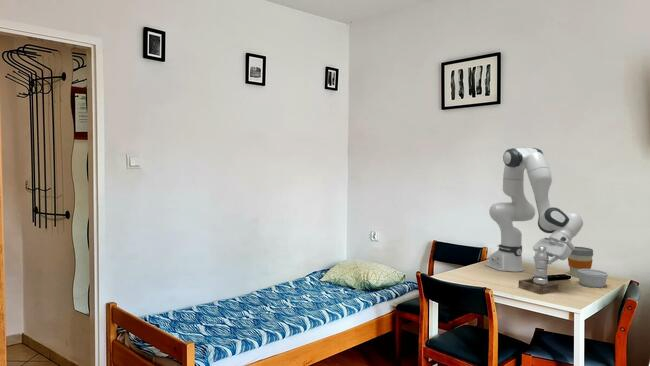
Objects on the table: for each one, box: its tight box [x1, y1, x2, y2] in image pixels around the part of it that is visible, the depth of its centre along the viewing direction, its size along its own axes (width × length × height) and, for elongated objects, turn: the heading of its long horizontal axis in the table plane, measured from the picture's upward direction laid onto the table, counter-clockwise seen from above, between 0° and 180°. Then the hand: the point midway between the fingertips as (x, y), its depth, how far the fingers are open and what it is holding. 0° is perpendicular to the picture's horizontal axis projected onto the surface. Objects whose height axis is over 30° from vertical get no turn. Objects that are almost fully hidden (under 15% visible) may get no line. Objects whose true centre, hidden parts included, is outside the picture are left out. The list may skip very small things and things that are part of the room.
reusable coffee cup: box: [567, 246, 594, 278], centre depth 256 cm, size 13×13×15 cm
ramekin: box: [578, 268, 609, 289], centre depth 238 cm, size 13×13×7 cm
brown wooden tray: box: [518, 277, 560, 295], centre depth 230 cm, size 13×13×4 cm
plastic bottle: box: [533, 247, 550, 286], centre depth 229 cm, size 6×7×20 cm
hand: (541, 261), depth 230 cm, fingers open, 8 cm apart
